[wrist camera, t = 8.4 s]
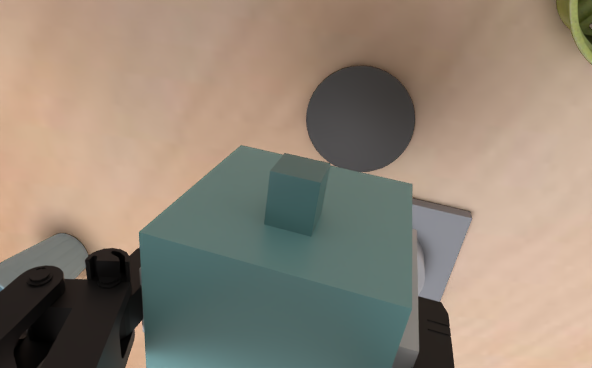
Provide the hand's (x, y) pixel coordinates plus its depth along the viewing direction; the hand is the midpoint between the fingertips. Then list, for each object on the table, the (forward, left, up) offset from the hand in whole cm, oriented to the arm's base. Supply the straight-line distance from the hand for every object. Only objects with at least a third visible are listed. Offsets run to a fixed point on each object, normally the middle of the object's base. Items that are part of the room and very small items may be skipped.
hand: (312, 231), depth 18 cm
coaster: (0, 0, -18) cm, 18 cm away
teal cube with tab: (0, 0, 0) cm, 0 cm away
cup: (+24, -32, -19) cm, 44 cm away
